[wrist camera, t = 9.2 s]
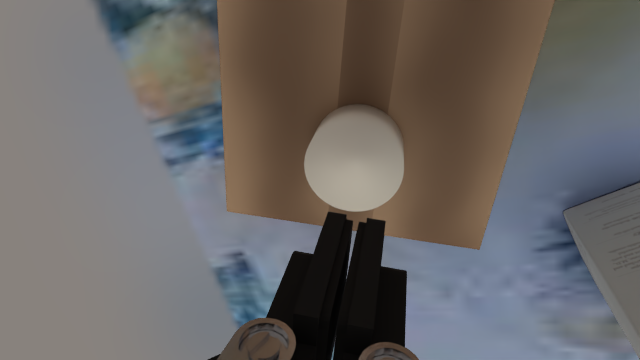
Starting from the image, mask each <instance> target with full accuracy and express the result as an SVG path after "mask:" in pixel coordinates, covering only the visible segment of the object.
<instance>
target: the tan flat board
mask: <svg viewBox="0 0 640 360" xmlns="http://www.w3.org/2000/svg"><path fill="white" fill-rule="evenodd" d="M554 2H555V0H217V11H218V32H219V53H220V75H221V96H222V117H223V138H224V160H225V181H226V202H227V211H228V212H235V213H241V214H248V215H254V216H261V217H268V218H274V219H281V220H287V221H294V222H300V223H307V224H314V225H320V226H323V225H324V222H325V219H326V216H327V213H328V212H335V213H341V214H347V220H353V228H352V230H353V231H357V228H358V224H359V222H365V223H366V221H367V218H372V219H378V220H384V221H386V224H385V232H384V235H386V236H393V237H399V238H406V239H412V240H419V241H426V242H432V243H439V244H445V245H452V246H458V247H465V248H472V249H478V250H479V249H480V246H481V243H482V239H483V236H484V233H485V230H486V226H487V223H488V220H489V216H490V213H491V210H492V206H493V203H494V200H495V197H496V193H497V190H498V187H499V183H500V180H501V177H502V173H503V170H504V167H505V164H506V160H507V157H508V154H509V150H510V147H511V144H512V141H513V137H514V134H515V131H516V127H517V124H518V121H519V117H520V114H521V111H522V108H523V104H524V101H525V98H526V94H527V91H528V88H529V84H530V81H531V78H532V75H533V71H534V68H535V65H536V61H537V58H538V55H539V51H540V48H541V45H542V42H543V38H544V35H545V32H546V28H547V25H548V22H549V19H550V15H551V12H552V9H553V5H554ZM353 104H363V105H369V106H372V107H375V108H377V109H379V110H381V111H383V112H385V113H386V114H387V115H388V116H390V117H391V118H392V119H393V120H394V122H395V123H396V124H397V126H398V128H399V130H400V132H401V134H402V138H403V144H404V174H403V179H402V182H401V185H400V187H399V189H398V190H397V192H396V193H395V194H394V196H393V197H392V198H391V199H390V200H389V201H387V202H386V203H384V204H383V205H381V206H379V207H377V208H374V209H371V210H367V211H359V212H353V211H346V210H341V209H338V208H335V207H333V206H331V205H329V204H328V203H326V202H324V201H323V200H322V199H320V198H319V197H318V196H317V195H316V193H315V192H314V191H313V190H312V188H311V187H310V185H309V183H308V181H307V178H306V175H305V169H304V160H305V154H306V151H307V148H308V146H309V144H310V142H311V140H312V138H313V136H314V134H315V132H316V130H317V128H318V126H319V125H320V123H321V122H322V120H323V119H324V118H325V117H326V116H327V115H328V114H330V113H331V112H332V111H334V110H336V109H338V108H340V107H343V106H347V105H353Z"/></svg>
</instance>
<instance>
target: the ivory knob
mask: <svg viewBox="0 0 640 360" xmlns="http://www.w3.org/2000/svg"><path fill="white" fill-rule="evenodd" d="M304 169H305V175H306V178H307V181H308V183H309V185H310V187H311V188H312V190H313V191H314V192H315V193H316V195H317V196H318V197H319V198H320V199H322V200H323V201H324V202H326V203H328V204H329V205H331V206H333V207H335V208H338V209H341V210H346V211H353V212H359V211H367V210H371V209H374V208H377V207H379V206H381V205H383V204H384V203H386V202H387V201H389V200H390V199H391V198H392V197H393V196H394V194H395V193H396V192H397V190H398V189H399V187H400V185H401V182H402V179H403V174H404V144H403V138H402V134H401V132H400V130H399V128H398V126H397V124H396V123H395V122H394V120H393V119H392V118H391V117H390V116H388V115H387V114H386V113H385V112H383V111H381V110H379V109H377V108H375V107H372V106H369V105H363V104H353V105H347V106H343V107H340V108H338V109H336V110H334V111H332V112H331V113H330V114H328V115H327V116H326V117H325V118H324V119H323V120H322V122H321V123H320V125H319V126H318V128H317V130H316V132H315V134H314V136H313V138H312V140H311V142H310V144H309V146H308V148H307V151H306V154H305V160H304Z"/></svg>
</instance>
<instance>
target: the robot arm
mask: <svg viewBox="0 0 640 360" xmlns="http://www.w3.org/2000/svg"><path fill="white" fill-rule="evenodd" d="M385 224H386V221H384V220H378V219H372V218H367V221H366V223H365V222H359V224H358V228H357V233H356V238H355V242H354V247H353V252H352V256H351V261H350V266H349V270H348V275H347V269H348V261H349V252H350V244H351V236H352V228H353V220H347V214H341V213H335V212H328V213H327V216H326V219H325V222H324V225H323V228H322V231H321V233H320V236H319V239H318V242H317V245H316V248H315V251H314V254H309V253H304V252H298V251H294V252H293V254H292V256H291V258H290V261H289V263H288V266H287V268H286V271H285V273H284V275H283V278H282V280H281V283H280V285H279V288H278V290H277V292H276V295H275V297H274V300H273V302H272V305H271V307H270V309H269V312H268V314H267V317H266V318H258V319H255V320H251V321H249V322H247V323H246V324H244V325H242V326H241V327H240V328H239V329H238V330H237V331H236V332H235V334H234V335H233V337H232V338H231V340H230V341H229V343H228V344H227V346H226V347H225V348H224V350H223V351H222V353H221V354H219V355H217V356H215V357H212V358H211V359H208V360H331V357H332V352H333V347H334V342H335V349H334V357H333V360H419V359H418V358H417V357H416V355H415V354H413V353H412V352H411V351H410V350H408V349H407V348H405V318H406V284H407V272H406V271H405V270H399V269H393V268H388V267H382V266H381V259H382V250H383V241H384V232H385ZM346 277H347V280H346ZM335 338H336V340H335Z"/></svg>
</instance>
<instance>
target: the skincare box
mask: <svg viewBox="0 0 640 360" xmlns="http://www.w3.org/2000/svg"><path fill="white" fill-rule="evenodd" d="M563 214H564V217H565V220H566V222H567V225H568V227H569V229H570V232H571V234H572V236H573V239H574V241H575V243H576V245H577V247H578V250H579V252H580V254H581V256H582V258H583V260H584V262H585V264H586V266H587V268H588V270H589V272H590V274H591V275H592V277H593V279H594V281H595V283H596V285H597V286H598V288H599V290H600V292H601V293H602V295H603V297H604V299H605V300H606V302H607V304H608V306H609V307H610V309H611V311H612V312H613V314H614V316H615V318H616V319H617V321H618V323H619V325H620V326H621V328H622V330H623V332H624V333H625V335H626V337H627V338H628V340H629V342H630V344H631V345H632V347H633V349H634V351H635V352H636V354H637V356H638V358H639V359H640V183H637V184H635V185H632V186H629V187H626V188H624V189H621V190H618V191H616V192H613V193H610V194H607V195H605V196H602V197H599V198H596V199H594V200H591V201H588V202H586V203H583V204H580V205H578V206H575V207H572V208H570V209H567V210H565V211H564V212H563Z"/></svg>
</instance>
